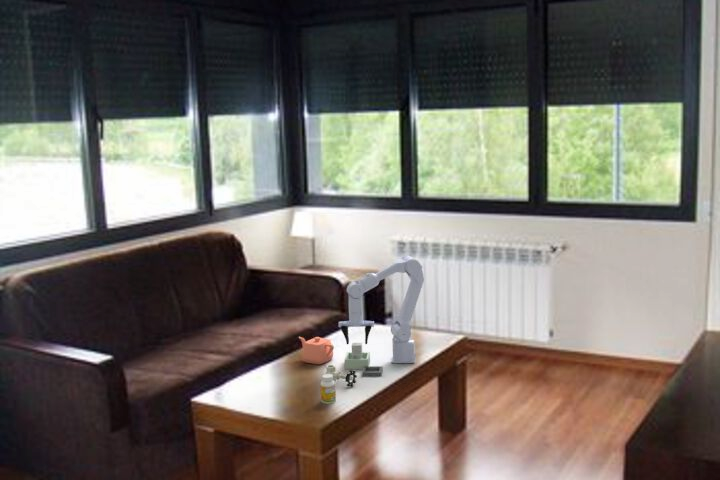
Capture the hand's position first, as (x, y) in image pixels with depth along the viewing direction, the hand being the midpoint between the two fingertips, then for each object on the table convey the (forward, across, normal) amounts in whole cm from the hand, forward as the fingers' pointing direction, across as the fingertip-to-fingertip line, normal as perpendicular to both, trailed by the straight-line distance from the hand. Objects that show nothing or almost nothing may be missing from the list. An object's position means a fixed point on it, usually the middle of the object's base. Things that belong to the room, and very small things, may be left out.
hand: (357, 343), depth 323 cm
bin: (+9, 0, 0) cm, 9 cm away
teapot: (+10, -18, +6) cm, 21 cm away
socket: (+9, +7, -10) cm, 15 cm away
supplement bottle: (+9, -7, -41) cm, 43 cm away
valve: (+10, -5, -23) cm, 25 cm away
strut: (+8, 0, 0) cm, 8 cm away
